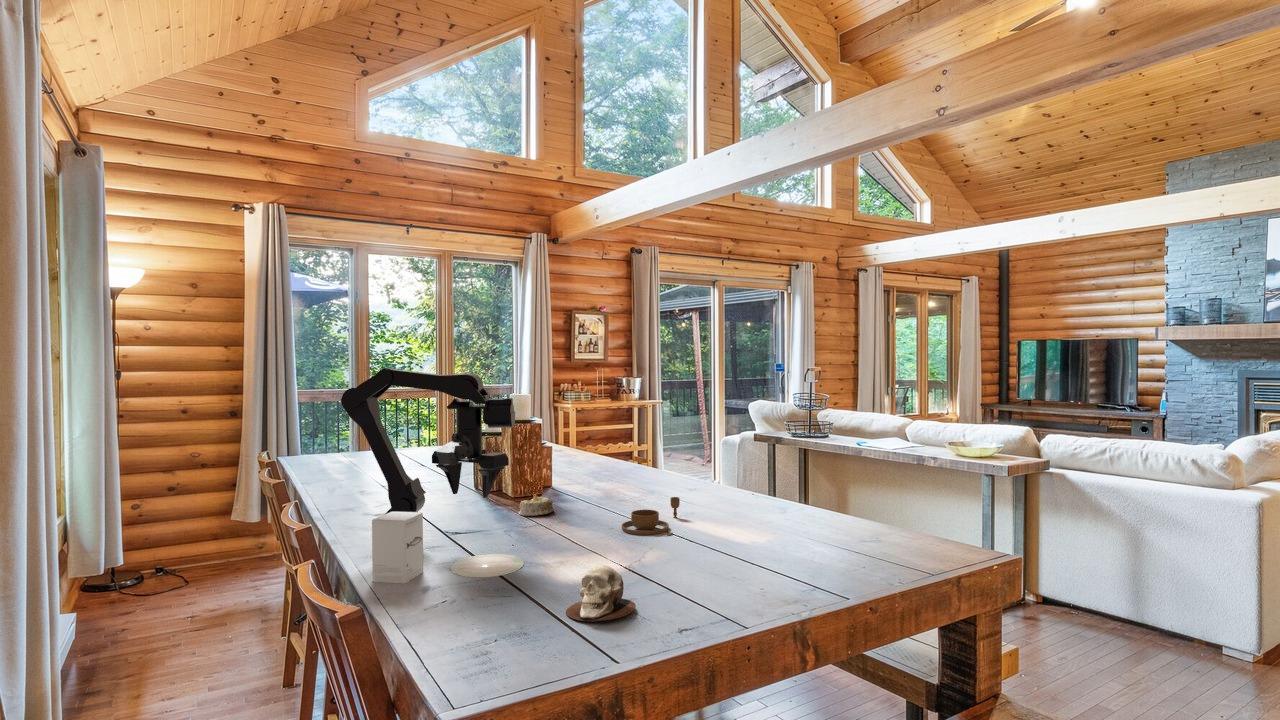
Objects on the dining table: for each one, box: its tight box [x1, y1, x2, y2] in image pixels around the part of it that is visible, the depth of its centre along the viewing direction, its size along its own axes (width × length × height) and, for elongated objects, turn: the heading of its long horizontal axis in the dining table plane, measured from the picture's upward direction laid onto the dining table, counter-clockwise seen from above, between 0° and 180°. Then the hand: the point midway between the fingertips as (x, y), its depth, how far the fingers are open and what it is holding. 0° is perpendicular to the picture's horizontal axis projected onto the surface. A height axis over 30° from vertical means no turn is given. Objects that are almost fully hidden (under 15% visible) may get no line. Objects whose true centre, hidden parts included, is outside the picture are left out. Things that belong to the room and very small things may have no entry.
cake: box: [518, 493, 555, 517], centre depth 196 cm, size 10×10×5 cm
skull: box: [565, 564, 636, 623], centre depth 121 cm, size 12×10×10 cm
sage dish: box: [450, 553, 525, 578], centre depth 148 cm, size 15×15×1 cm
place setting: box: [621, 496, 681, 538], centre depth 179 cm, size 18×20×6 cm
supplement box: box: [371, 511, 424, 584], centre depth 141 cm, size 7×7×13 cm
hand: (470, 495), depth 162 cm, fingers open, 9 cm apart
